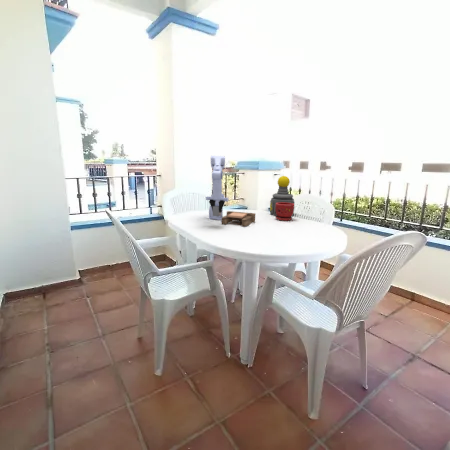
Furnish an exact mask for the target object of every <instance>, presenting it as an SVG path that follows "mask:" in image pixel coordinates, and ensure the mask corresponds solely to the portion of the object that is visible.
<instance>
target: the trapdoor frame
mask: <svg viewBox="0 0 450 450" xmlns="http://www.w3.org/2000/svg"><path fill="white" fill-rule="evenodd" d="M231 213H244V214H247V216H245V217H244V218H234V217H228V215H229V214H231ZM231 222H241V227H243V228H244V227H246V228H247V227H248V226H249V225H251V224H252V223H253V224H255V223H256V213H255V212H254V213H253V212H245V211H242V212H241V211H233V210H232V211H231V210H227V211H226V215H224V216H222V219H221V225H225V226H226V225H228V224H230V223H231Z"/></svg>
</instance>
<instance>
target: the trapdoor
mask: <svg viewBox="0 0 450 450" xmlns="http://www.w3.org/2000/svg"><path fill="white" fill-rule="evenodd" d="M245 216H247V214H244V213H231V214H229V215H228V217H234V218H244V217H245Z"/></svg>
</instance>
